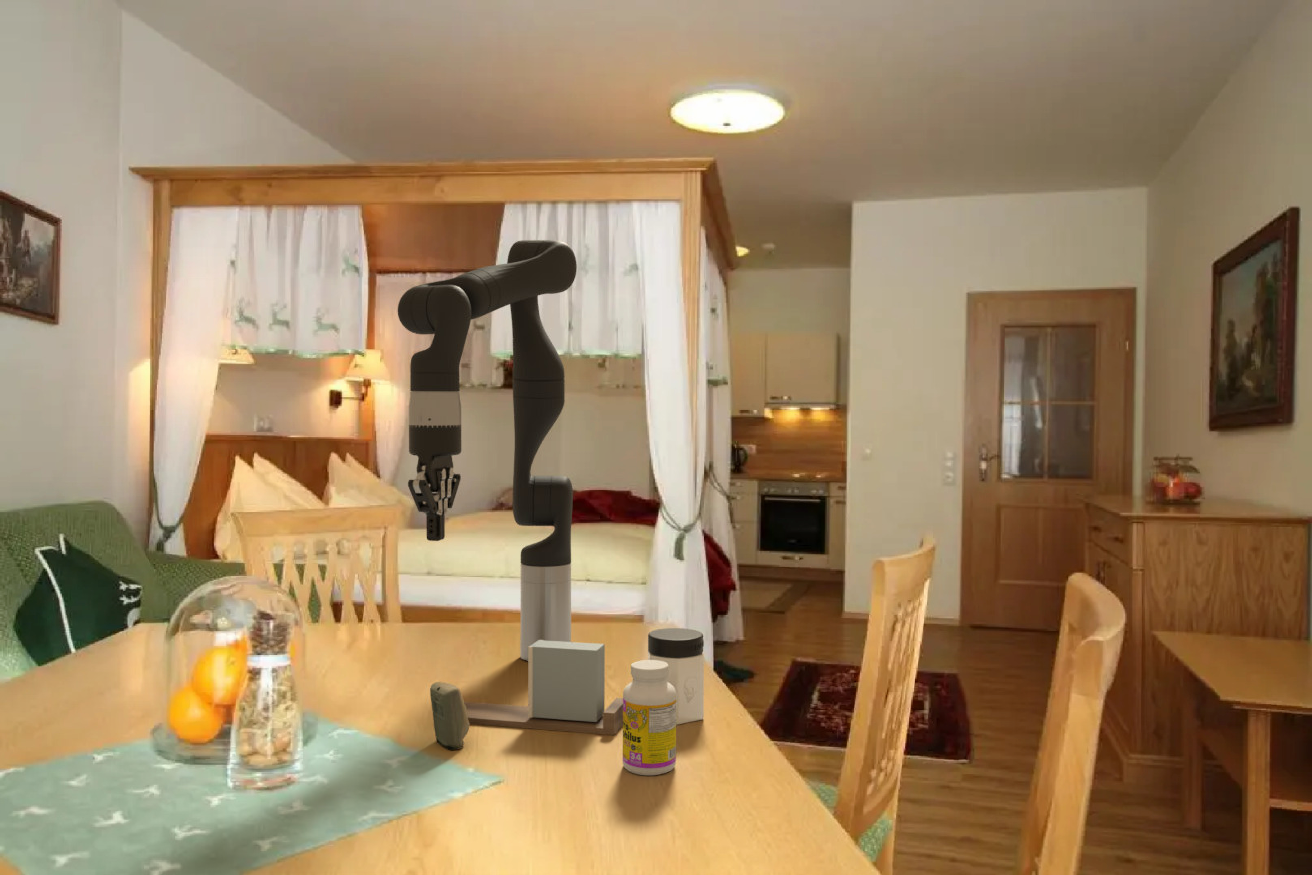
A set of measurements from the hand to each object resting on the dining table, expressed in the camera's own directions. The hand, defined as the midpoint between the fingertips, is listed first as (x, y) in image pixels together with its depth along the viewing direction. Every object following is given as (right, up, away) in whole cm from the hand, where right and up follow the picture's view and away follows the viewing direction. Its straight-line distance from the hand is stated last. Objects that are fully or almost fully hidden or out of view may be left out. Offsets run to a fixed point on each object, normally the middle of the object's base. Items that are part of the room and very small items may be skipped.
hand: (435, 539), depth 136 cm
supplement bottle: (+32, -26, -22) cm, 46 cm away
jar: (+35, -26, -1) cm, 44 cm away
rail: (+14, -26, -3) cm, 29 cm away
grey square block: (+20, -25, -5) cm, 32 cm away
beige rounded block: (+5, -26, -13) cm, 30 cm away
